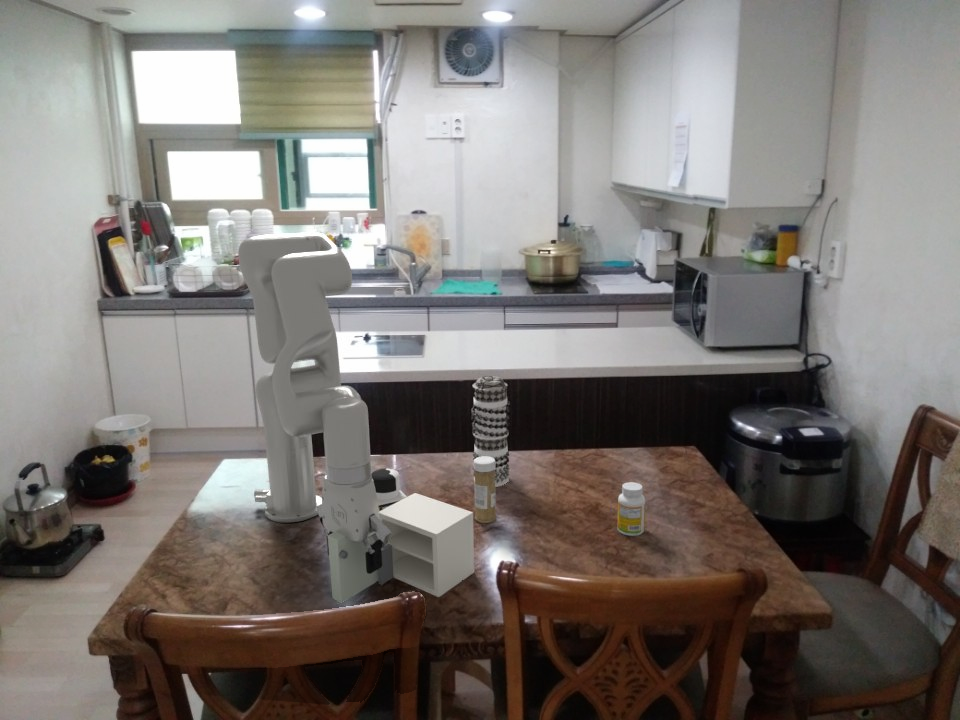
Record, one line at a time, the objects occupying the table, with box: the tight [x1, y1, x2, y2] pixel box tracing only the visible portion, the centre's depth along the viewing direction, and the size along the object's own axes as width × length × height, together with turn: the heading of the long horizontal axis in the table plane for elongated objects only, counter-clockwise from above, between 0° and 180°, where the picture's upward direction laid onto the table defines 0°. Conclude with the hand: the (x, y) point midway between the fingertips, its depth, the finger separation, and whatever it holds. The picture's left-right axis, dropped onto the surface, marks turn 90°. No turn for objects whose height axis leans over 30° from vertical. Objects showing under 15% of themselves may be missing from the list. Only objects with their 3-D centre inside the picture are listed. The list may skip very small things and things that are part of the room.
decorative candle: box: [470, 375, 511, 488], centre depth 170 cm, size 9×9×25 cm
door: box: [327, 531, 378, 603], centre depth 127 cm, size 3×9×12 cm, turn 142°
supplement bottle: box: [616, 481, 646, 537], centre depth 147 cm, size 5×5×10 cm
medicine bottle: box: [371, 468, 408, 511], centre depth 150 cm, size 7×7×12 cm
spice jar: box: [473, 456, 497, 524], centre depth 152 cm, size 5×5×13 cm
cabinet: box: [377, 492, 475, 598], centre depth 132 cm, size 16×13×12 cm
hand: (354, 561), depth 128 cm, fingers open, 9 cm apart
